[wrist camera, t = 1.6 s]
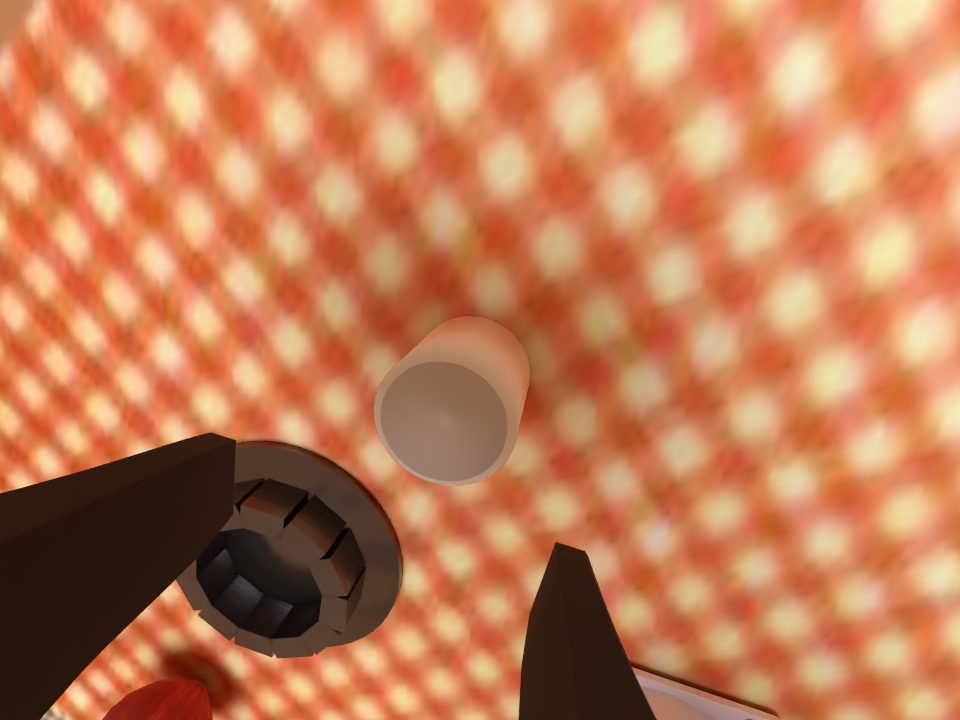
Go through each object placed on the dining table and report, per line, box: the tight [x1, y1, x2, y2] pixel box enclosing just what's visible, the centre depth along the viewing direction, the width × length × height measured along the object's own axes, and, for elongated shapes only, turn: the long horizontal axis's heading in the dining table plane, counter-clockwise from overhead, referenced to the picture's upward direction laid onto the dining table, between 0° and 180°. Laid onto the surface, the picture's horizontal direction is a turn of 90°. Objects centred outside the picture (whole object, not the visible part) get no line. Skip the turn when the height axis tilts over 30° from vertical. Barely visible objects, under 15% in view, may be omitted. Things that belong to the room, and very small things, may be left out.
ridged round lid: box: [176, 441, 403, 658], centre depth 23 cm, size 12×12×3 cm
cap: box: [374, 316, 530, 486], centre depth 17 cm, size 5×5×5 cm
